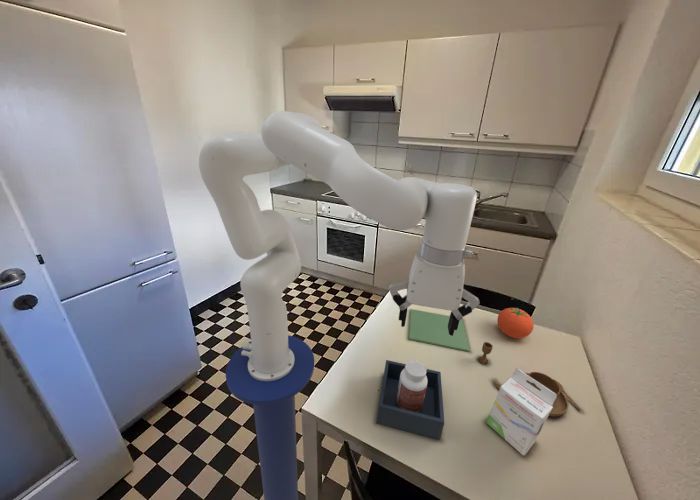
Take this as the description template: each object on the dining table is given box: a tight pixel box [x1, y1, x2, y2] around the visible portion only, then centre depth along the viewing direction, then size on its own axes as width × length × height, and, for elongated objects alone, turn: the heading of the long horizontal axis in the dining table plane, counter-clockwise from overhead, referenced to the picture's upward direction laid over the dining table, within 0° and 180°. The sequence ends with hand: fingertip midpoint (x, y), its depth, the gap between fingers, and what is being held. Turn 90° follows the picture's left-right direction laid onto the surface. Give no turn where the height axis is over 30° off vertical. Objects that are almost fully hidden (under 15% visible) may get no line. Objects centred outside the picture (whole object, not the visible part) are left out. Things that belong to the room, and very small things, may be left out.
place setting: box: [477, 341, 581, 417], centre depth 73 cm, size 18×20×6 cm
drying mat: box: [408, 308, 470, 352], centre depth 93 cm, size 18×16×1 cm
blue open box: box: [375, 359, 445, 441], centre depth 65 cm, size 14×14×6 cm
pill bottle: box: [396, 359, 428, 413], centre depth 64 cm, size 6×6×11 cm
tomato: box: [496, 307, 535, 339], centre depth 90 cm, size 10×10×10 cm
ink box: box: [486, 367, 557, 456], centre depth 58 cm, size 9×5×15 cm, turn 35°
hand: (426, 326), depth 58 cm, fingers open, 9 cm apart
